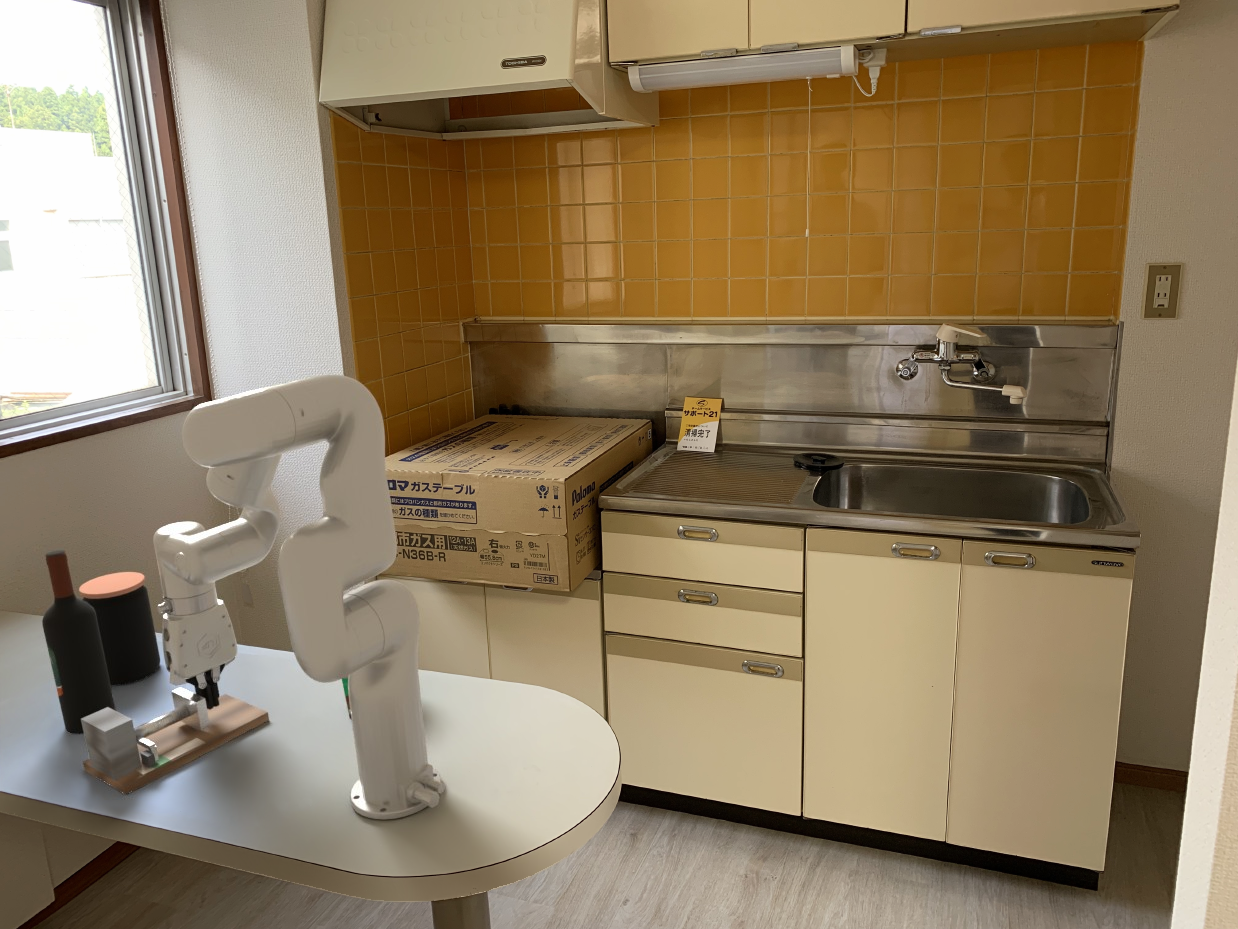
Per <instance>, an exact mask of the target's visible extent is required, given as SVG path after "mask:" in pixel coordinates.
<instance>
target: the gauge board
mask: <svg viewBox="0 0 1238 929" xmlns="http://www.w3.org/2000/svg"><path fill="white" fill-rule="evenodd" d="M218 699H219V706H217V707H213V709H210V710H209V709H207V712H208V718H209V723H210V727H208V728H206V729H204V730H202V731H200V730H198V729H196V728H194V727H192V726H190V725H188V724H186V723H184V722H182V721H179V722H177V723H175V724H173V725H171V726H168V727H166V728H164V729H162V730H160V731H158V732H156V733H154V734H152V735H150V736H148V737H146V738H145V739H147V740H149V741H151V742H153V743H155V746H156V748H157V753H158V758H159V760H157V761H156V765H154V766H152V767H150V768H149V767H148V766H146V765H144V764H142V759H141V754H140V753H141V752H143V751H145V750H148V749H146V748H144V747H143V746H141V745H139V744H137V741H136V736H135V731H134V728H135V727H134V722H133V721H134V720H133V719H132V718H130V717H129V716H126V715H124V714H122V713H120V712H119V711H115V710H113V709H111V708H109V707H107V708H104V709H102V710H100V711H98V712H95V713H93V714H91V715H88V716H86V717H84V718H82V719H81V722H82V727H83V732H84V734H83V736H84V741H85V745H86V749H87V755H88V759H86V760H84V761H82V764H83V770H84V772H87V773H88V774H90V775H92V776H93V777H95V778H96V777H97V778H96V779H98V780H100V779H101V780H100V781H102V782H103V781H105V782H106V783H105V782H104V783H105V784H107V783H108V784H110V785H111V786H110V785H109V786H110V787H112V786H113V787H115V788H116V789H115V788H114V789H115V790H117V789H118V790H119V792H120V791H121V792H120V793H122V792H123V793H124V795H125V794H127V795H128V793H129V792H131V791H133V792H134V790H135V791H136V790H138V789H140V788H143V787H144V786H146V785H148V784H150V783H152V782H154V781H156V780H158V779H159V777H160V778H161V777H163V776H165V775H167V774H169V773H171V772H173V771H175V770H177V769H179V768H181V767H182V766H184V765H187V764H188V763H190V762H192V761H194V760H196V759H198V758H200V757H202V756H204V755H205V753H206V754H207V753H209V752H211V751H213V750H215V749H217V748H219V747H220V745H221V746H223V745H225V744H227V743H228V742H227V741H229V740H231V741H232V740H234V739H236V738H238V737H240V736H242V735H244V734H245V733H244V732H246V733H247V731H248V732H250V731H251V730H250V729H252V730H254V729H255V728H257V727H259V726H261V725H263V724H265V723H267V722H268V721H270V718H269V712H268V711H266V710H264V709H262V708H259V707H257V706H254V705H252V704H250V703H247V702H245V701H243V700H240V699H238V698H236V697H233V696H231V695H229V694H226V693H224V694H222V695H219V698H218ZM264 722H265V723H264ZM253 728H254V729H253ZM249 730H250V731H249ZM243 733H244V734H243ZM241 734H242V735H241ZM239 735H240V736H239ZM237 736H238V737H237ZM235 737H236V738H235ZM233 738H234V739H233ZM226 742H227V743H226ZM229 742H230V741H229ZM224 743H225V744H224ZM222 744H223V745H222ZM148 751H149V750H148ZM203 754H204V755H203ZM199 756H200V757H199ZM180 766H181V767H180ZM155 779H156V780H155ZM153 780H154V781H153ZM147 783H148V784H147ZM108 784H107V785H108ZM113 787H112V788H113ZM118 790H117V791H118ZM123 793H122V794H123ZM131 793H132V792H131ZM129 794H130V793H129Z"/></svg>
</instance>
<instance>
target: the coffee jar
mask: <svg viewBox="0 0 1238 929" xmlns="http://www.w3.org/2000/svg"><path fill="white" fill-rule="evenodd" d="M145 583H146V577H145V575H144V574H143V573H142V572H135V571H122V572H121V571H120V572H116V573H114V572H113V573H109V574H104V575H101V576H97V577H95V578H92V579H90V580H88V581H85V582H84V583H82V584H81V585H80V587H78V588H79V589H78V593H79V595H80V596H81V597H82V599H81V600H83V601H86V602H87V603H89V604H90V605H91V606H92V607H93V608H94V610H95V612H96V617H97V622H98V627H99V631H100V636H101V641H102V646H103V651H104V656H105V661H106V665H107V670H108V675H109V680H110V685H111V686H124V685H129V684H134V683H137V682H139V681H143V680H145V679H146V678H148V677H151V676H152V675H153V674H154V673H155V672H156V671H157V670H158V669H159V666H160V663H161V657H160V656H161V655H160V650H159V646H158V640H157V635H156V629H155V624H154V619H153V618H154V617H153V613H152V609H151V603H150V597H149V591H148V588H147V587H146V586H145Z"/></svg>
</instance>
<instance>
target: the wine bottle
mask: <svg viewBox="0 0 1238 929" xmlns="http://www.w3.org/2000/svg"><path fill="white" fill-rule="evenodd" d="M45 562H46V565H47V569H48V573H49V578H50V582H51V588H52V591H53V597H54V603H53V604H52V605H51V606H50V607H49V608H48V609H47V610H46V611H45V613H44V615H43V617H42V629H43V633H44V638H45V643H46V647H47V652H48V655H49V661H50V664H51V669H52V670H51V671H52V674H53V679H54V683H55V687H56V692H57V697H58V700H59V705H60V710H61V714H62V719H63V723H64V724H63V725H64V727H65V731H66V732H67V733H69V734H72V735H84V732H83V727H82V722H81V719H82V718H84V717H86V716H88V715H91V714H93V713H95V712H98V711H100V710H102V709H104V708H107V707H109V708H111V709H113V710H115V711H116V710H117V709H116V705H115V700H114V695H113V691H112V685H110V680H109V675H108V670H107V665H106V661H105V656H104V651H103V646H102V641H101V636H100V631H99V627H98V622H97V617H96V612H95V610H94V608H93V607H92V606H91V605H90V604H89V603H87V602H86V601H83V600H82V599H80V598H78V597H77V596H76V594H75V592H74V586H73V581H72V577H71V572H70V566H69V563H68V556H67V553H66V551H65V550H64V549H63V550H59V549H58V550H54V551H50V552H48V553H47V552H46V554H45Z"/></svg>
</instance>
